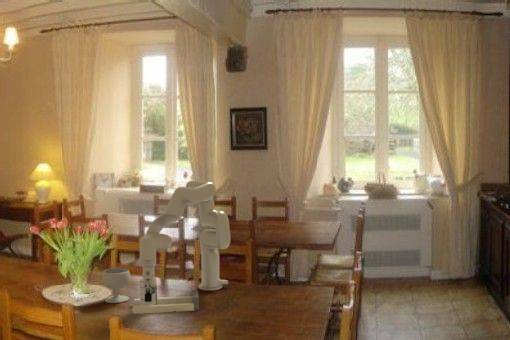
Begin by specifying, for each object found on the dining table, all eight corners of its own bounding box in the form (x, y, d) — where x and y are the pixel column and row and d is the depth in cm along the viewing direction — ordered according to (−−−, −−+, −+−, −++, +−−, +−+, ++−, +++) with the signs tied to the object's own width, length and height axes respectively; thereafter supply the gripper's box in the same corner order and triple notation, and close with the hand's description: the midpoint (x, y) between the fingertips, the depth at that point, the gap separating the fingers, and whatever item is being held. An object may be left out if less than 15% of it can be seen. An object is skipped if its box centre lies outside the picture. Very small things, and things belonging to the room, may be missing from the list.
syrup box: (148, 311, 261) (147, 280, 259) (139, 308, 264) (139, 278, 263) (157, 308, 265) (157, 278, 264) (148, 305, 269) (148, 276, 268)
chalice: (123, 305, 269) (123, 274, 268) (97, 303, 272) (96, 273, 271) (135, 296, 283) (135, 267, 282) (110, 295, 286) (109, 266, 285)
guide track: (197, 301, 275) (197, 289, 274) (198, 310, 262) (198, 297, 262) (134, 305, 270) (134, 292, 269) (132, 313, 257) (132, 301, 257)
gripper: (155, 266, 255) (156, 304, 256) (156, 257, 272) (156, 293, 273) (139, 267, 254) (139, 305, 255) (140, 258, 271) (141, 293, 272)
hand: (148, 298), depth 264 cm, fingers closed on syrup box, 7 cm apart
